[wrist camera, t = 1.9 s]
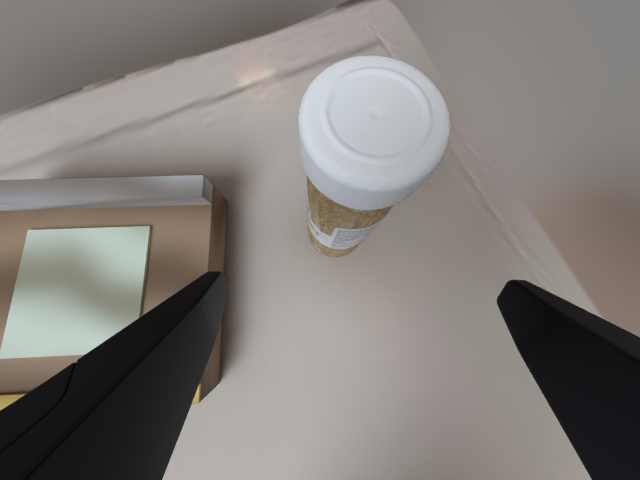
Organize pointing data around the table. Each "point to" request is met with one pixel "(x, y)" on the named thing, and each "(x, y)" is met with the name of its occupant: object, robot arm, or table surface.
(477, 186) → the table surface
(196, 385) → the robot arm
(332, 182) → the sprinkles bottle
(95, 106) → the table surface
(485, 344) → the table surface
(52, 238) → the dock
